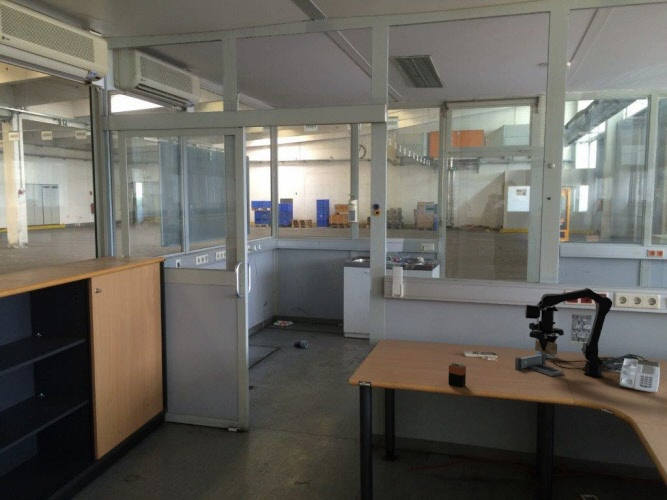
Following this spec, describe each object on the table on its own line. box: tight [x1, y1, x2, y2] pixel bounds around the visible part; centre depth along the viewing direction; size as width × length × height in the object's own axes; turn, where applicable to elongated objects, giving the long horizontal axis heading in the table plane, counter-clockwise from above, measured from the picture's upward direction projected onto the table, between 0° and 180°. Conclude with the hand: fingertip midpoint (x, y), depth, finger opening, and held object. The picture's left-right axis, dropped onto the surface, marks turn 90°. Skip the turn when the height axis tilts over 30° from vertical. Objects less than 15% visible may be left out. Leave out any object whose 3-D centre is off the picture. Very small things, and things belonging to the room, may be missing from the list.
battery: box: [447, 362, 467, 388], centre depth 232 cm, size 4×7×10 cm, turn 51°
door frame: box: [514, 352, 547, 371], centre depth 260 cm, size 20×2×6 cm, turn 119°
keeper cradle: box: [527, 363, 564, 378], centre depth 253 cm, size 14×8×2 cm, turn 29°
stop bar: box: [534, 339, 558, 356], centre depth 252 cm, size 10×4×5 cm, turn 28°
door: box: [520, 354, 542, 370], centre depth 260 cm, size 16×3×5 cm, turn 119°
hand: (546, 350), depth 252 cm, fingers closed on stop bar, 4 cm apart
